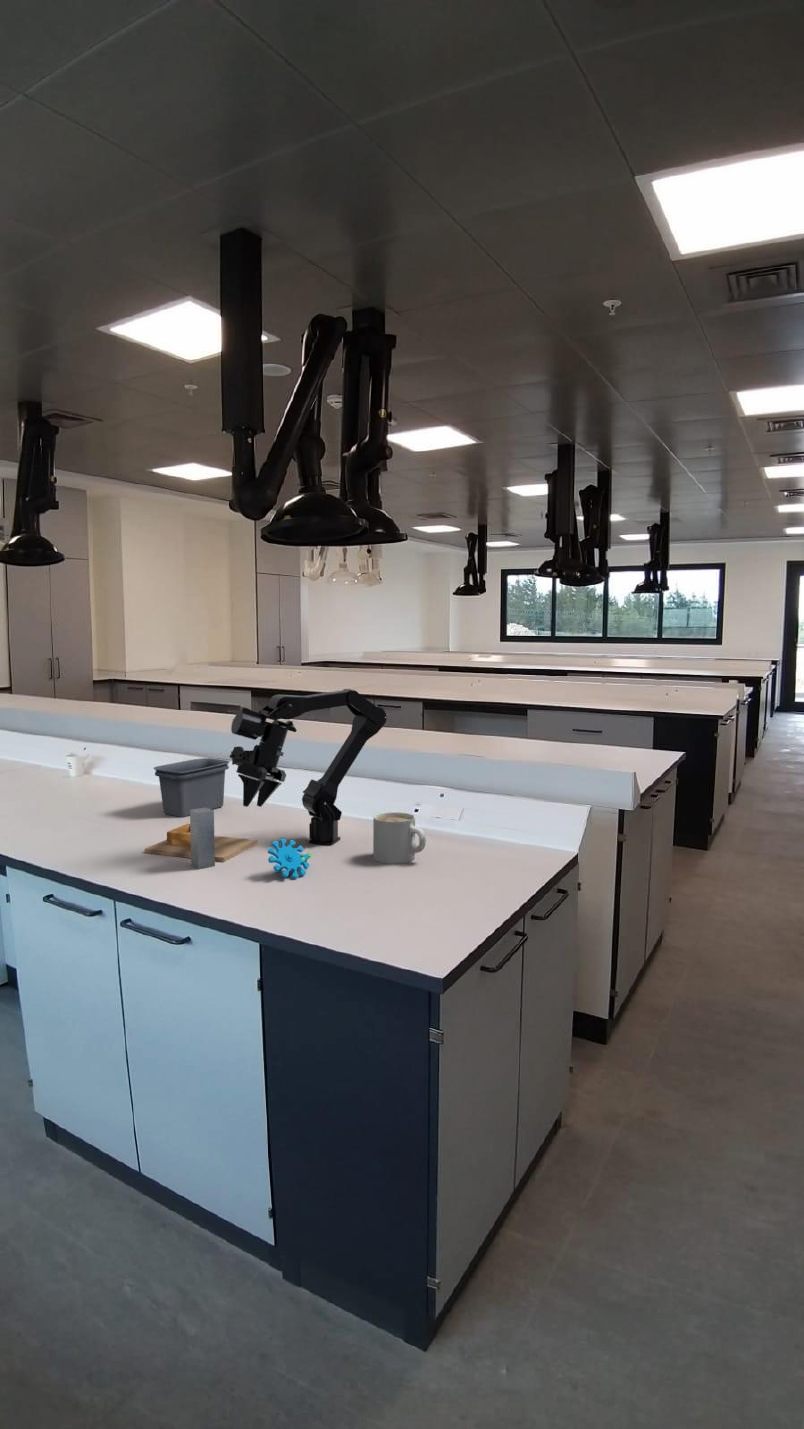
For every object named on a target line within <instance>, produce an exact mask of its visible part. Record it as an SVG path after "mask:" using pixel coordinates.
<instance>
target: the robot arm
mask: <svg viewBox="0 0 804 1429" xmlns="http://www.w3.org/2000/svg"><path fill="white" fill-rule="evenodd" d="M338 707H346V708H347V709H348V711H349V712H350V714H353V716H354V717H353V719H352V724H351V731H350V733H349V735H348V736H347V738H346V739H345V741H344V742H343V744H342V746H341V747H340V748H339V750H338V752H337V754H335V757H334V758H333V760H332V761H331V762H330V764H329V766H328V768H327V769H326V771H325V772H324V773H323V775H322V777H321V778H319V779H318V780H315V779H310V780H309V783H308V785H307V787H306V788H305V789H304V790H303V791H302V793H303V794H302V798H301V801H302V805H303V807H304V809H305V810H307V812H308V815H309V816H310V823H309V826H308V829H309V832H308V833H309V836H308V837H309V838H308V839H309V840H307V842H308V843H309V844H316V845H325V846H332V845H334V844H335V843H336V842H339V841H340V840H341V836H339V821H340V820H341V817H342V814H343V812H342V811H341V810H340V809H339V808H338V807H337V806H336V805H335V802H336V800H337V797H338V790H339V789H338V788H339V787H340V784H341V783H342V781H343V779H344V778H345V777H346V775H347V773H348V772H349V770H350V768H351V767H352V765H353V763H354V762H355V761H356V759H357V758H358V756H359V754H360V752H361V751H362V749H363V748H364V746H365V744H366V743H367V741H368V740H370V739H371V738H372V737H374V736H375V735H377V734H378V733H379V732H380V730H381V729H382V728H384V726H385V725H386V722H387V721H388V717H387V714H386V711H385V709H383V708H382V707H381V706H376V705H375V704H374V703H373V702H371V701H370V700H368V699H367V698H365V697H364V696H363V695H361V693H359V692H358V691H357V690H355V689H350V688H344V689H342V690H337V691H330V692H322V693H315V694H309V695H296V694H295V695H293V694H274V695H272V696H271V697H270V699H269V701H268V703H267V704H266V705H264V706H263V707H262V708H261V709H260V710H258V711H255V710H251V709H250V708H248V707H244V706H241V707H240V709H239V711H237V713H236V715H235V716H234V718H232V722H231V729H230V730H231V733H232V734H233V735H235V736H241V737H244V738H247V739H251V740H254V741H255V740H257V739H259V738H260V740H259V742H258V744H255V745H254V747H253V749H252V750H248V749H247V750H245V749H244V747H243V746H234V747H233V750H231V751H230V755H229V758H230V759H231V764H232V765H233V766H234V765H236V766H237V769H236V771H235V772H236V773H237V775H238V777H239V778H240V780H241V781H242V784H243V788H242V789H243V793H242V799H243V800H242V806H243V807H246V808H247V807H249V806H250V805H251V802H253V799H254V798H255V797H256V796H257V794H258V796H257V801H256V802H257V803H256V806H257V807H259V808H262V806H264V804H265V803H266V802H267V800H269V798H270V797H271V796H272V794H274V792H276V790H277V789H278V788H279V787H280V786H281V785H282V784H283V783H285V781H286V778H287V774H286V772H285V771H286V770H283V769H280V768H278V763H279V761H280V757H283V756H284V753H285V752H283V748H284V744H285V741H286V738H287V734H288V731H289V732H293V733H296V732H297V730H298V729H296V727H295V725H294V722H293V721H292V720H291V719H294V718H297V717H301V716H302V715H304V714H306V713H309V712H313V711H318V710H325V709H332V708H338ZM267 719H268V720H272V722H269V721H268V720H267ZM280 719H282V720H280ZM283 720H287V721H283ZM282 782H283V783H282Z"/></svg>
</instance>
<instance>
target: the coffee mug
mask: <svg viewBox="0 0 804 1429" xmlns="http://www.w3.org/2000/svg"><path fill="white" fill-rule="evenodd" d="M372 827H373V839H372V840H373V843H372V844H373V848H372V849H373V852H372V855H373V860H374V861H376V862H379V863H383V864H388V865H389V864H391V865H399V864H400V865H401V864H406V863H410V862H412V861H414V860H415V858H416V855H415V854H417V853H421V852H422V851H424V849H425V847H426V843H427V840H426V839H427V838H426V834H425V831H424V830H423V829H422V828H421V827H418V826H416V816H415V815H414V814H411V813H407V812H401V811H389V812H381V813H377V814H375V815H374V816H373V826H372ZM416 834H417V836H418V839H419V840H418V841H419V843H418V845H417V844H416Z"/></svg>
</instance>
